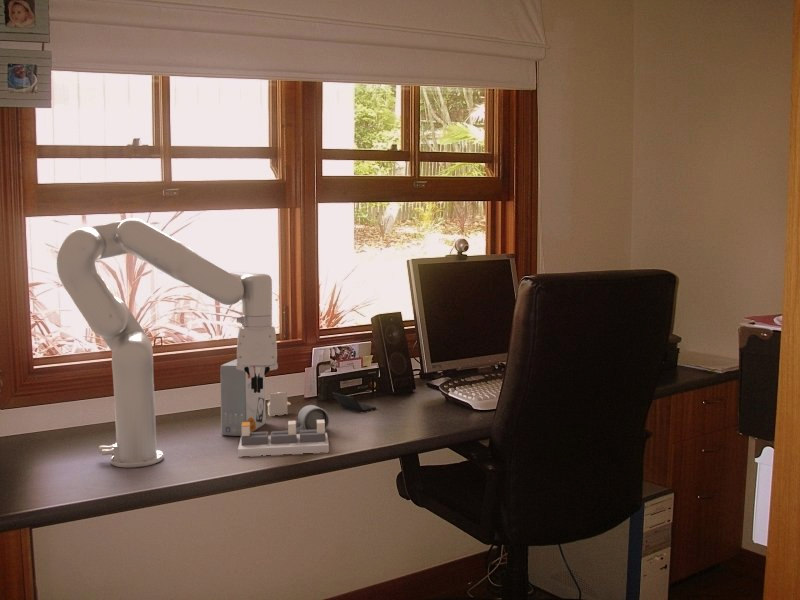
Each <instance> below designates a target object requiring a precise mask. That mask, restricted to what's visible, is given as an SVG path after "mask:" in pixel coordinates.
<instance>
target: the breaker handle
mask: <svg viewBox="0 0 800 600" xmlns="http://www.w3.org/2000/svg"><path fill="white" fill-rule="evenodd" d="M241 428H242V436H250V422H242V425H241ZM242 436H241V437H242Z"/></svg>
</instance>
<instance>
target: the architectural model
mask: <svg viewBox="0 0 800 600" xmlns="http://www.w3.org/2000/svg"><path fill="white" fill-rule="evenodd" d="M266 405H267V416H268V415H269V417H276V416H275V415H278V416H283V415H284V414H286V415H288V414H289V413H288V411H289V410H288V406H291V405H292V403H291V402H289V401H288V392H287V391H284V392H283V391H282V392H280V391H278V392H275V393H274V392H273V393H269V399H268V400H267V403H266Z"/></svg>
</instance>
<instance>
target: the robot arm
mask: <svg viewBox="0 0 800 600" xmlns="http://www.w3.org/2000/svg"><path fill="white" fill-rule="evenodd" d="M127 254H130V255H132V256H134V257H135V258H137V259H140V260H141V261H143V262H144V263H146V264H149V266H152V267H154V268H155V269H157V270H159V271H161V272H162V273H165V274H166V275H168V276H170V277H171V278H173V279H175V280H176V281H179V282H182V283H184V284H186V285H188V286H189V287H191V288H193V289H195V290H197V291H198V292H200V293H202V294H204V295H205V296H207V297H209V298H211V299H213V300H215V301H216V302H218V303H220V304H222V305H225V306H233V305H235V304H237V303H239V302H240V301H241V302H242V303H241V305H242V307H241V310H242V311H241V313H242V315H241V316H238V317H236V323H239V324H241V326H239V329H238V332H237V341H236V344H237V345H236V359H237V366H236V369H238V370H242V371H245V372H246V373H247V374H248V375H250V377H251V389H254V393H256V392H258V393H260V389H263V377H264V375H265V376H266V375H267V374H268V372H270V371H274V370H278V368H279V363H278V362H277V361H278V349H277V348H278V345H277V343H278V342H277V335H276V328H275V327H274V325H273V312H272V311H273V292H272V291H273V279H272V277H271V276H270V275H269V274H265V273H248V274H241V273H240V274H239V273H233V272H232V273H231V272H228V271H226V270H225V269H223V268H221V267H220V266H217V265H216V264H215V263H212V262H211V261H209V260H208V259H206V258H204V257H203V256H201V255H199V254H198V253H197V252H196V251H195V250H193V249H192V248H190V247H189V246H188V245H186V244H184V243H182V242H181V241H179V240H177V239H175V238H173V237H171V236H170V235H168V234H166V233H164V232H163V231H161V230H159V229H158V228H156V227H154V226H152V225H150V224H149V223H147V222H145V221H144V220H142V219H140V218H136V217H130V218H127V219H123V220H119V221H115V222H109V223H105V224H98V225H93V226H89V227H87V226H86V227H81V228H78V229H75V230H73V231H71V232H70V233H69V234H68V235H67V236H66V238H65V239H64V240H63V242H62V244H61V246H60V248H59V250H58V253H57V257H56V269H57V271H56V272H57V275H58V277H59V279H60V282H61V284H62V285H63V287H64V289H65V291H66V292H67V293H68V295H69V296H70V298H71V299H72V301H73V302H74V304H75V307H77V309H78V310H79V312H80V314H81V315H82V317H83V318H84V319H85V321H86V323H87V324H88V326H89V328H90V330H91V331H92V332H94V333H95V334H96V335H97V336H99V337H101V338H102V339H103V341H104V342H105V344H106V345H107V347H108V349H110V351H111V352H112V353H111V369H112V382H113V383H112V385H113V398H114V399H113V401H114V417H115V418H114V419H115V439H116V441H115V443H112V445H99V447H98V452H99V454H101V456H109V455H111V457H110V464H111V465H112V466H114V467H117V468H127V469H128V468H129V469H130V468H140V467H141V468H142V467H147V466H152V465H154V464H156V463H159V462H161V461H162V460H163V459H164V453H163V451H161V450H158V447H157V445H158V444H157V424H156V423H157V422H156V402H155V401H156V398H155V383H154V381H155V379H154V351H153V344H152V341H151V339H150V338H149V336H148V335H147V333H146V331H145V330H144V329H143V328H142V326H141V325H140V323H139V321H138V320H137V319H136V317H135V315H134V314H133V313H132V311H131V310H130V308H129V306H128V305H127V304H126V303H125V302H124V301H123V300H122V299H120V298H119V297H116V296H114V294H113V292H112V291H111V290H110V289H109V286H107V284H106V282H105V279H103V277H102V276H101V275H100V273H99V271H98V270H97V268H96V262H97V261H98V260H103V259H107V258H113V257H116V256H117V257H118V256H122V255H127ZM254 366H261V367H260V373H259V374H258V377H257V376H256V373H255V369H254Z"/></svg>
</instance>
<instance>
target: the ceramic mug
mask: <svg viewBox="0 0 800 600" xmlns="http://www.w3.org/2000/svg"><path fill="white" fill-rule="evenodd" d="M297 420H298V421H296V434H300V430H313V429H317V420H324V422H325V432H326V431H327V430H328V428H329V425H330V416H329V413H328V412H327V410H326V409H324V408H321V407H319V406H318V405H317V406H316V405H314V404H308V405H305V406H303V407H302V408H301V409H300V410H299V412H298V415H297Z"/></svg>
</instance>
